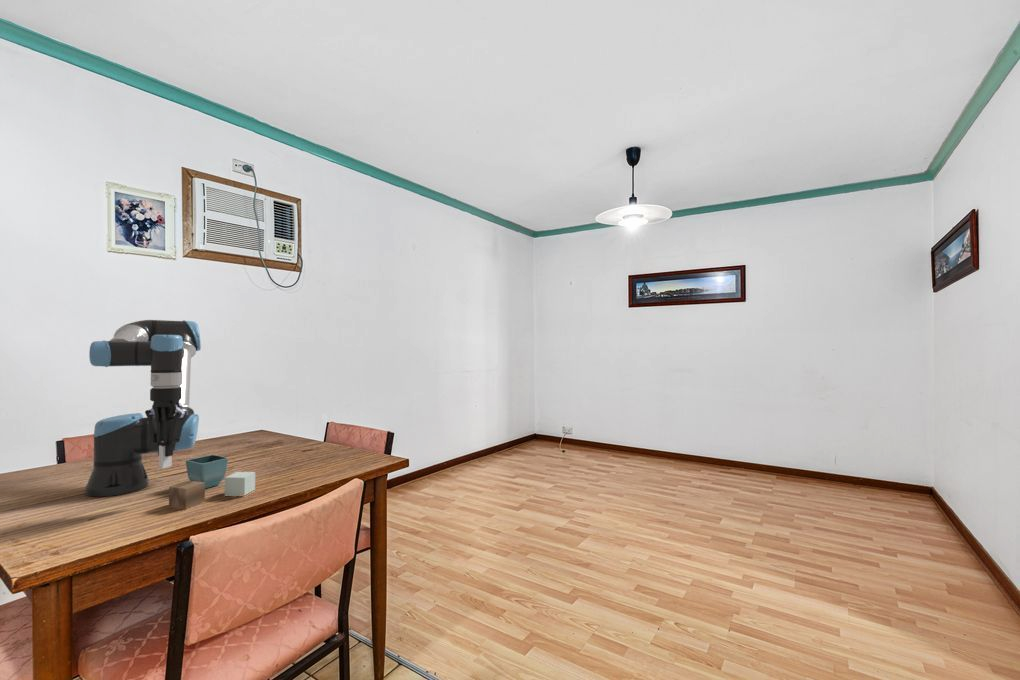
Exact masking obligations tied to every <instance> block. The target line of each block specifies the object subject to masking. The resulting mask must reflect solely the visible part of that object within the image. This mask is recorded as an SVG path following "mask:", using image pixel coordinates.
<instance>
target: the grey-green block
mask: <svg viewBox="0 0 1020 680" xmlns="http://www.w3.org/2000/svg"><path fill="white" fill-rule="evenodd" d="M253 490H255V491H256V472H255V471H235V472H232V473H231V474H229V475H227V476H224V497H225V496H240V495H246V494H248V493H249V492H251V491H253ZM253 492H254V491H253Z"/></svg>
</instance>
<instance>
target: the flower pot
mask: <svg viewBox="0 0 1020 680" xmlns="http://www.w3.org/2000/svg"><path fill="white" fill-rule="evenodd" d="M228 462H229V457H227V456H222V455H219V454H218V455H216V454H208V455H204V456H200V457H196V458H190V459H186V460H185V465H186V473H187V477H188V479H189V480H188V481H197V482H205V489H207V488H208V489H209V488H211V487H216V486H219V485H220V483H221V482H222V481H223V479H225V477H226V476H225V475H226V473H227V470H228Z"/></svg>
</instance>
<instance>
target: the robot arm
mask: <svg viewBox="0 0 1020 680" xmlns="http://www.w3.org/2000/svg"><path fill="white" fill-rule="evenodd" d="M200 335H201V334H200V329H199V324H198V323H197V322H196V321H191V320H162V319H144V320H136V321H133V322H130V323H127V324H124V325H122V326H120V327H119V328H118V329H116V330H115V332H114V333H113V337H112V338H111V339H110V340H98V341H97V340H96V341H92V343H90V345H89V350H88V351H89V363H90V365H91V366H93V367H105V368H108V367H149V366H150V383H149V384H150V386H151V387H152V388H151V389H149V390H150V391H149V400H150V401H151V402H153V404H152V406H151V408H150V409H146V410H145V411H144V413H145V416H146V417H144V416H143V414H142V413H139V412H136V413H127V414H125V413H124V414H121V415H116V416H110V417H106V418H103V419H99V420H98V421H97V422H96V423H95V424H94V429H93V430H94V432H93V435H92V438H93V468H92V470H91V474H90V476H89V478H88V481H87V484H86V485H85V496H87V497H94V498H95V497H99V498H101V497H112V496H119V495H124V494H130V493H132V492H137V491H140V490H142V489H144V488H146V487H148V486H149V476H148V475H147V471H146V469H145V467H144V464H143V461H142V460H143V459H142V458H143V455H145V454H153V453H157V455H158V456H157V457H158V469H166V468H170V467H172V466H173V460H172V458H173V457H172V456H173V454H174V452H175V451H176V452H178V451H183V450H190V449H191V448H193V447H194V445H195V443H196V440H197V435H198V429H199V423H200V422H199V421H200V417H199V416H200V415H199V414H197V413H195V410H194V409H193V408H192V407H190V394H191V393H190V392H191V390H190V388H191V371H192V370H191V364H192V358H193V357H194V356H195V355H196V353H197V352H199V351H201V350H202V349H201V348H202V347H201V346H202V345H201V336H200Z"/></svg>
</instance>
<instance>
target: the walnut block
mask: <svg viewBox="0 0 1020 680" xmlns="http://www.w3.org/2000/svg"><path fill="white" fill-rule="evenodd" d="M205 491H206V488H205V482H197V481H190V480H186V481H184V482H180V483H177V484H174V485H171V486H169V487H168V508H170V509H176V510H177V509H178V510H184V511H185V510H189V509H191V507H192V508H194V507H197V506H199V505H202V504H204V503H203V502H206V498H205V497H206V495H205V494H206V492H205ZM201 503H202V504H201ZM196 505H197V506H196ZM188 508H189V509H188Z"/></svg>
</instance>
